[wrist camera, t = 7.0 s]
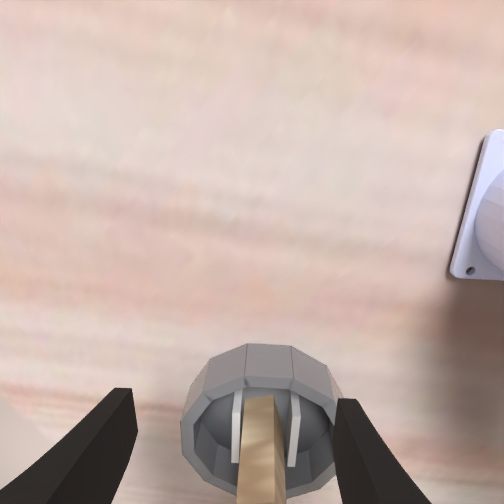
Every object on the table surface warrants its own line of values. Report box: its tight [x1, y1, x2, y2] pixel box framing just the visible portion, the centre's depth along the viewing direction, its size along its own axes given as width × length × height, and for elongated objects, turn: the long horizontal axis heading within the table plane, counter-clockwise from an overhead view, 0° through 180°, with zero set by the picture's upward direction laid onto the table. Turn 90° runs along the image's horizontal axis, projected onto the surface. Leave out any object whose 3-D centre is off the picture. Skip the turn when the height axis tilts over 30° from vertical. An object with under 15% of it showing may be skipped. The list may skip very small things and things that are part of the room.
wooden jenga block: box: [236, 395, 286, 504], centre depth 21 cm, size 2×3×7 cm, turn 14°
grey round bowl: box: [180, 344, 343, 499], centre depth 24 cm, size 11×11×3 cm
